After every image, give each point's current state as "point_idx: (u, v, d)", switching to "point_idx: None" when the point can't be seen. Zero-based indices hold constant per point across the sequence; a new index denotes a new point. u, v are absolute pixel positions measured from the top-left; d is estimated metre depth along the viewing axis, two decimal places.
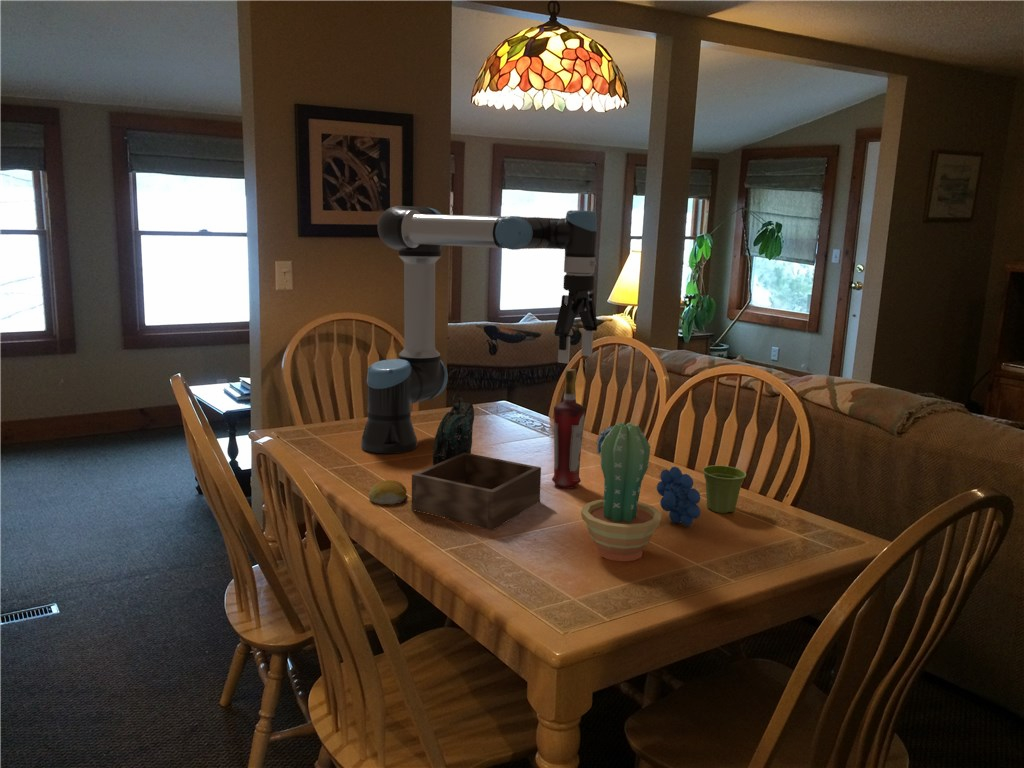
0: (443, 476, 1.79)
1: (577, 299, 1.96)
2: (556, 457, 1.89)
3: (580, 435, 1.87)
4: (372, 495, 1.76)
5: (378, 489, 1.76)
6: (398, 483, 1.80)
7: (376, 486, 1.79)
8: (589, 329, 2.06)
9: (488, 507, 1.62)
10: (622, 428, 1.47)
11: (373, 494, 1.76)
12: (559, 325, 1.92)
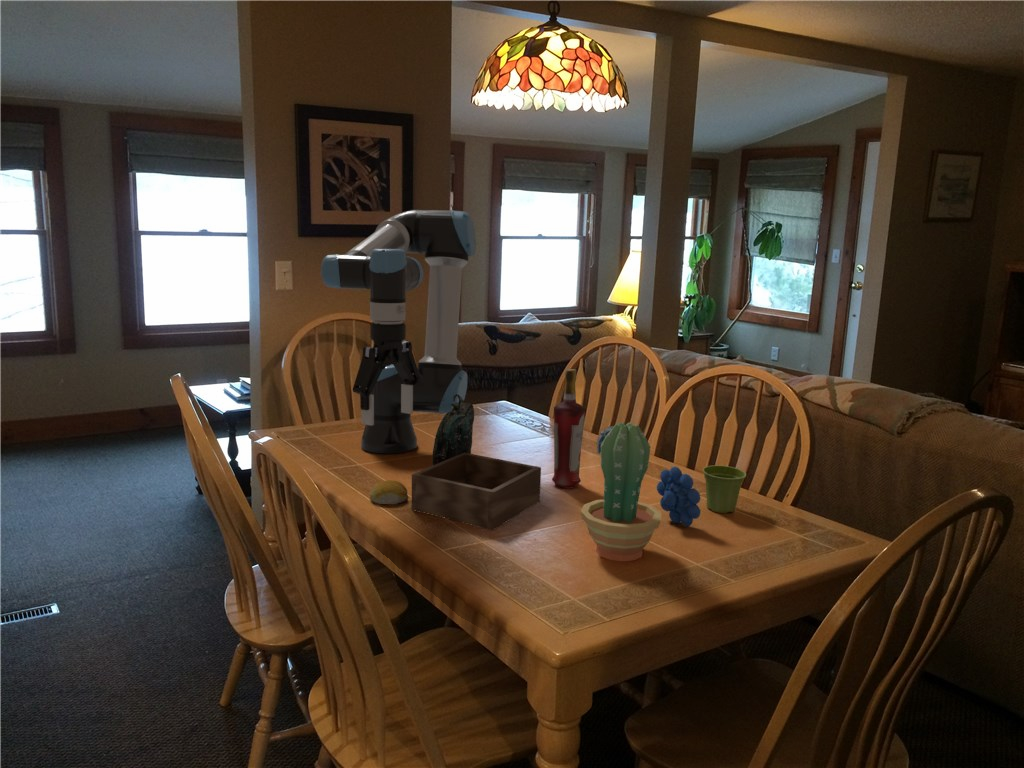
0: (443, 476, 1.79)
1: (384, 351, 1.70)
2: (556, 457, 1.89)
3: (580, 435, 1.87)
4: (373, 495, 1.76)
5: (379, 489, 1.76)
6: (399, 483, 1.80)
7: (377, 486, 1.79)
8: (409, 383, 1.80)
9: (488, 507, 1.62)
10: (622, 428, 1.47)
11: (374, 494, 1.76)
12: (358, 382, 1.66)
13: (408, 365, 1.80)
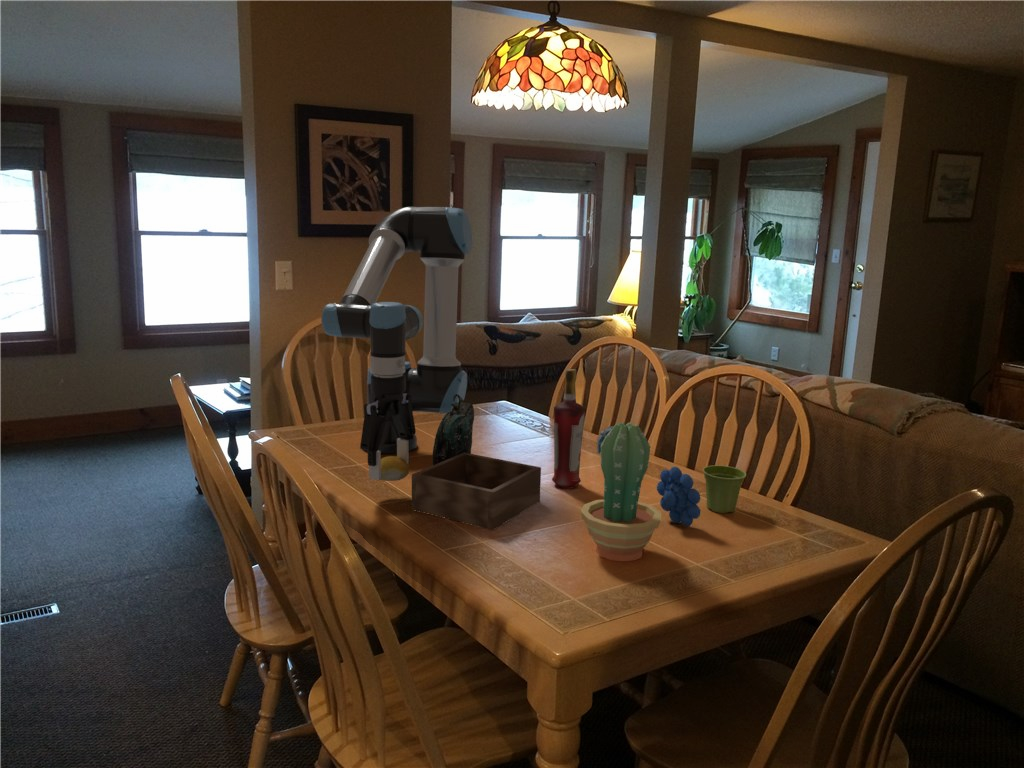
0: (443, 476, 1.79)
1: (384, 403, 1.72)
2: (556, 457, 1.89)
3: (580, 435, 1.87)
4: None
5: None
6: (400, 459, 1.79)
7: None
8: (404, 438, 1.81)
9: (488, 507, 1.62)
10: (622, 428, 1.47)
11: None
12: (364, 440, 1.70)
13: (405, 418, 1.81)
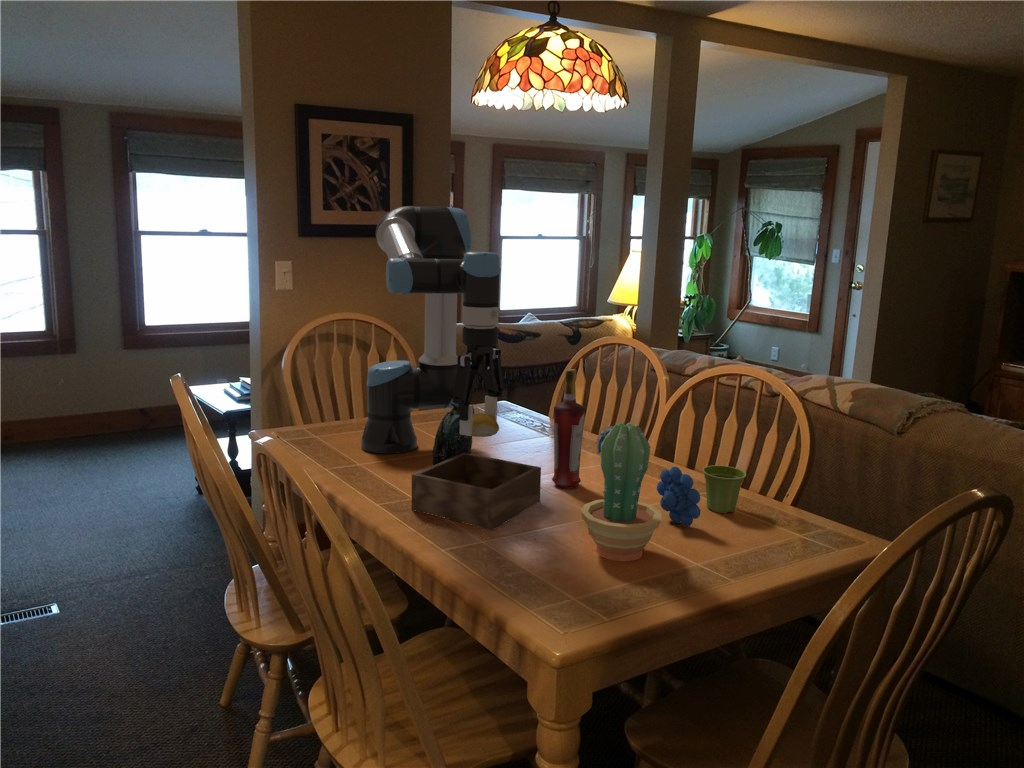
0: (443, 476, 1.79)
1: (477, 356, 1.66)
2: (556, 457, 1.89)
3: (580, 435, 1.87)
4: None
5: None
6: (489, 416, 1.73)
7: None
8: (493, 395, 1.76)
9: (488, 507, 1.62)
10: (622, 428, 1.47)
11: None
12: (457, 393, 1.64)
13: None
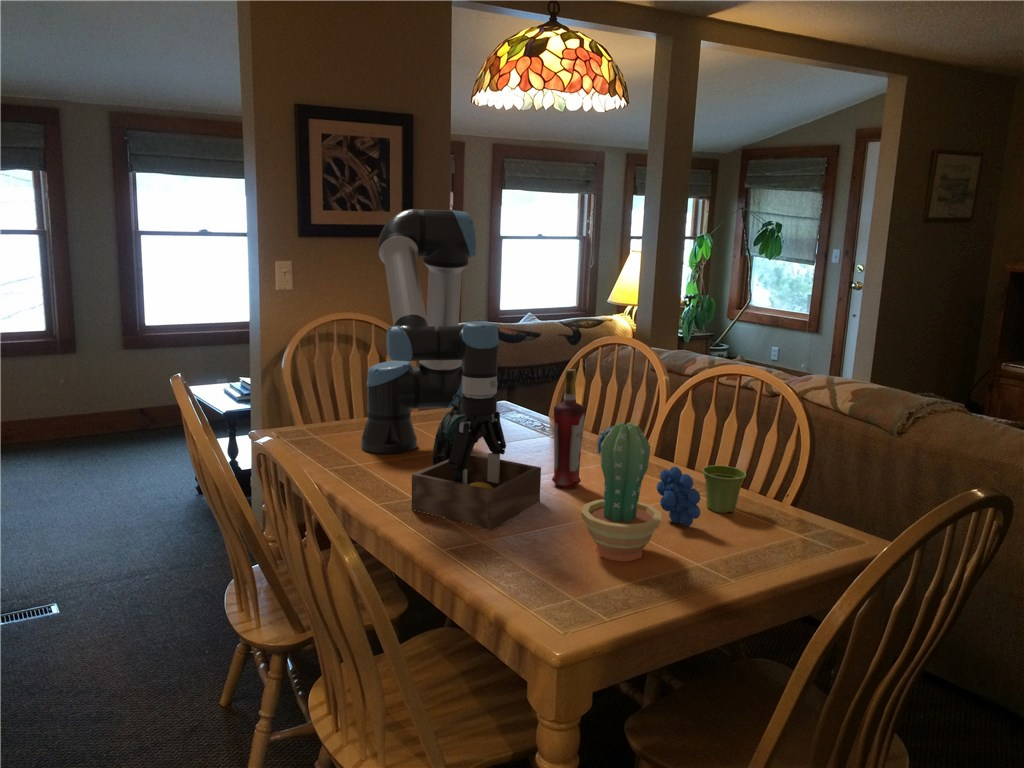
0: (443, 476, 1.79)
1: (476, 424, 1.69)
2: (556, 457, 1.89)
3: (580, 435, 1.87)
4: None
5: None
6: (488, 485, 1.77)
7: None
8: (496, 452, 1.80)
9: (488, 507, 1.62)
10: (622, 428, 1.47)
11: None
12: (453, 458, 1.66)
13: (495, 434, 1.79)
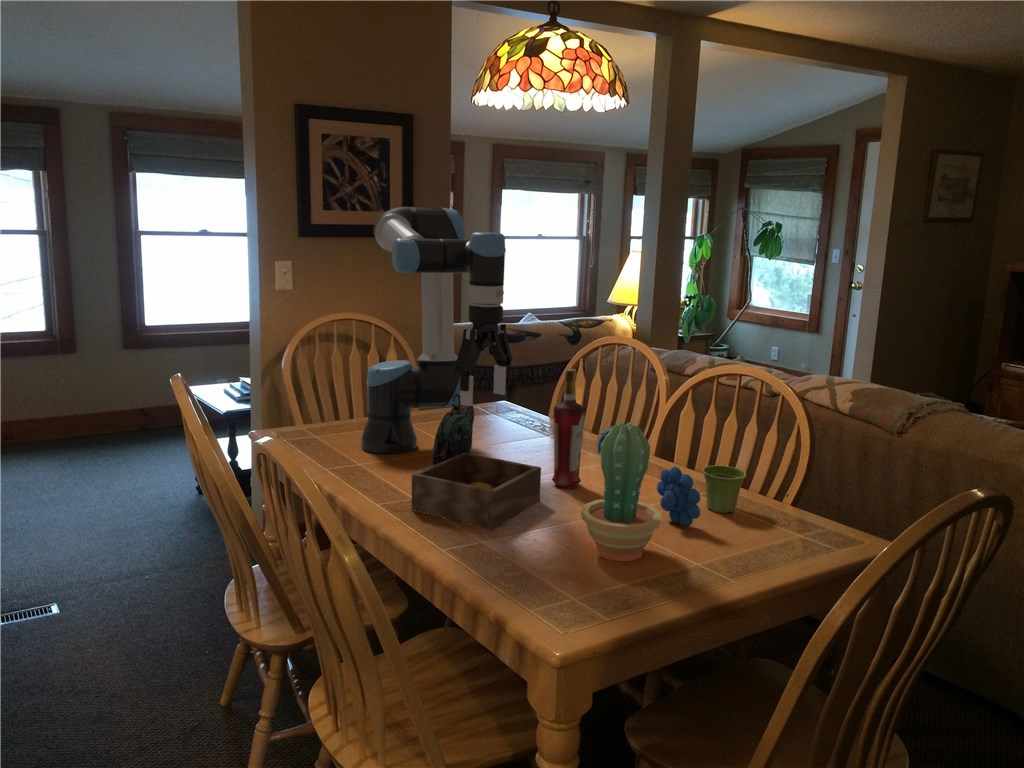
0: (443, 476, 1.79)
1: (482, 333, 1.73)
2: (556, 457, 1.89)
3: (580, 435, 1.87)
4: None
5: None
6: (488, 485, 1.76)
7: None
8: (502, 364, 1.83)
9: (488, 507, 1.62)
10: (622, 428, 1.47)
11: None
12: (459, 364, 1.69)
13: (501, 347, 1.83)
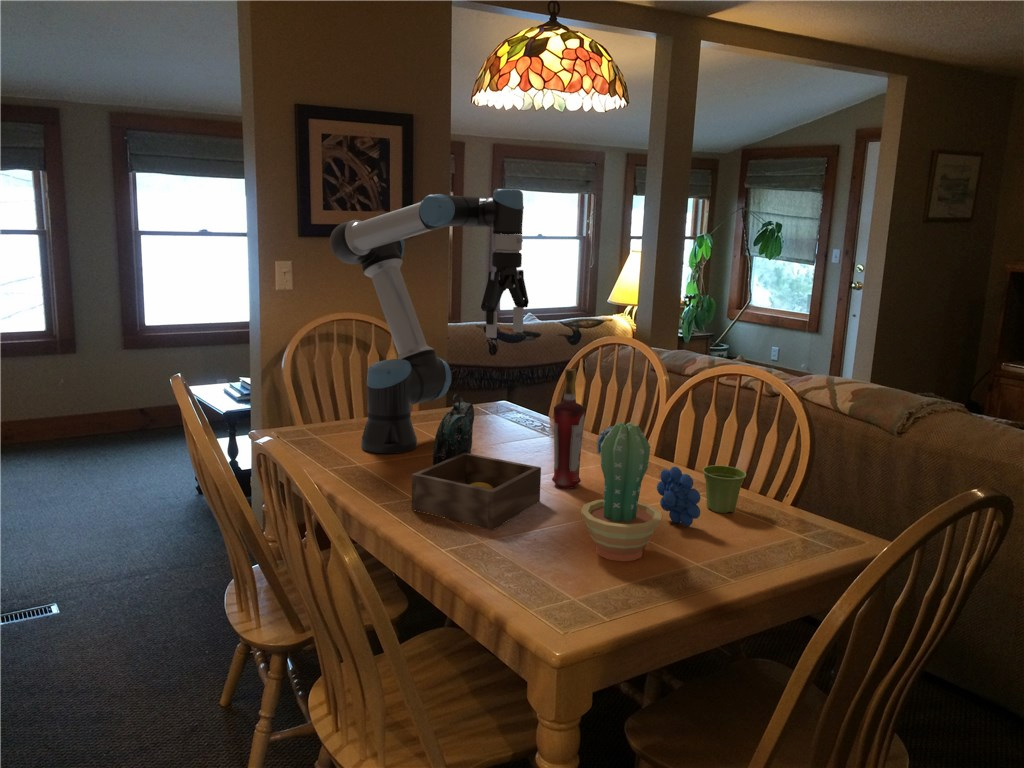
0: (443, 476, 1.79)
1: (504, 275, 2.02)
2: (556, 457, 1.89)
3: (580, 435, 1.87)
4: None
5: None
6: (488, 485, 1.76)
7: None
8: (520, 306, 2.12)
9: (488, 507, 1.62)
10: (622, 428, 1.47)
11: None
12: (485, 300, 1.98)
13: (519, 291, 2.12)
